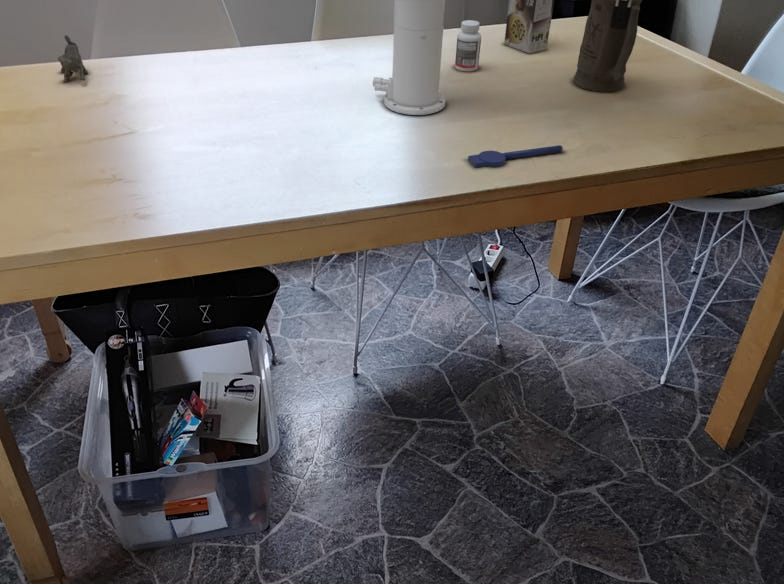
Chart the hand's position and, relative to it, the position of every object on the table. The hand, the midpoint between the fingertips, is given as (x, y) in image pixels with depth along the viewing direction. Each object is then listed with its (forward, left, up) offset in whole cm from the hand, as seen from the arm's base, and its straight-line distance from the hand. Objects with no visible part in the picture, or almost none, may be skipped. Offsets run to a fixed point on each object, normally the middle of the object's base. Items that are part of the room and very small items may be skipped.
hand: (618, 27), depth 139 cm
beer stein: (0, +12, -16) cm, 20 cm away
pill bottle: (-31, +13, -16) cm, 37 cm away
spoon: (-12, -30, -15) cm, 36 cm away
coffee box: (-21, +33, -16) cm, 42 cm away
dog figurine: (-110, -24, -16) cm, 114 cm away
